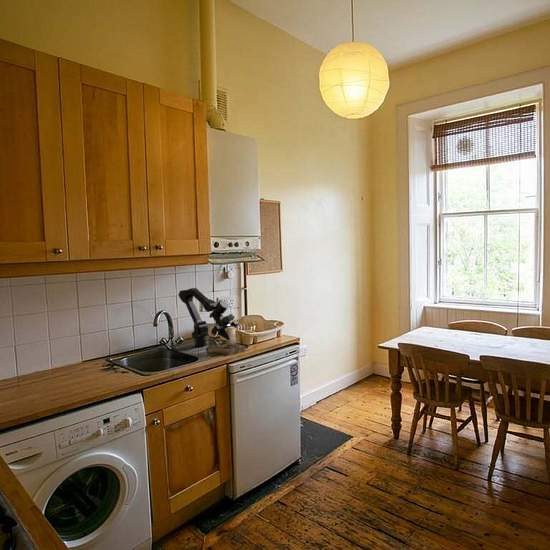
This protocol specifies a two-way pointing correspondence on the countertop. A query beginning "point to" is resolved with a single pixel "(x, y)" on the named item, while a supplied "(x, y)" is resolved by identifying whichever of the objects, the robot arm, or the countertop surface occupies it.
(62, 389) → the countertop surface
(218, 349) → the walnut board
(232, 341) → the cream leg
